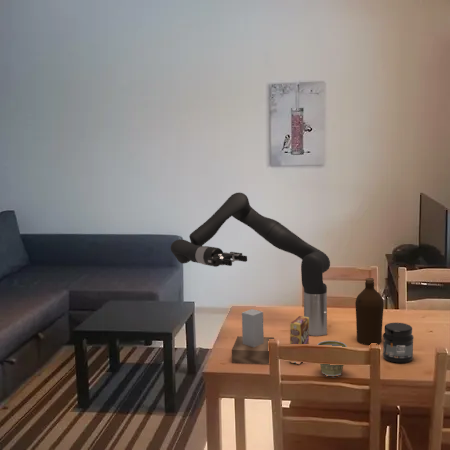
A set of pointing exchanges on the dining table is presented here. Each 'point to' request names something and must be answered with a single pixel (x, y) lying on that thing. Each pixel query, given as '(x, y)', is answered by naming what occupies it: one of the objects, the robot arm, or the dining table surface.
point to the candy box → (299, 331)
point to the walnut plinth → (250, 352)
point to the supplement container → (398, 342)
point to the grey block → (252, 328)
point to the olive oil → (369, 314)
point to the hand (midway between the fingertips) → (239, 261)
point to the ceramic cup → (327, 368)
